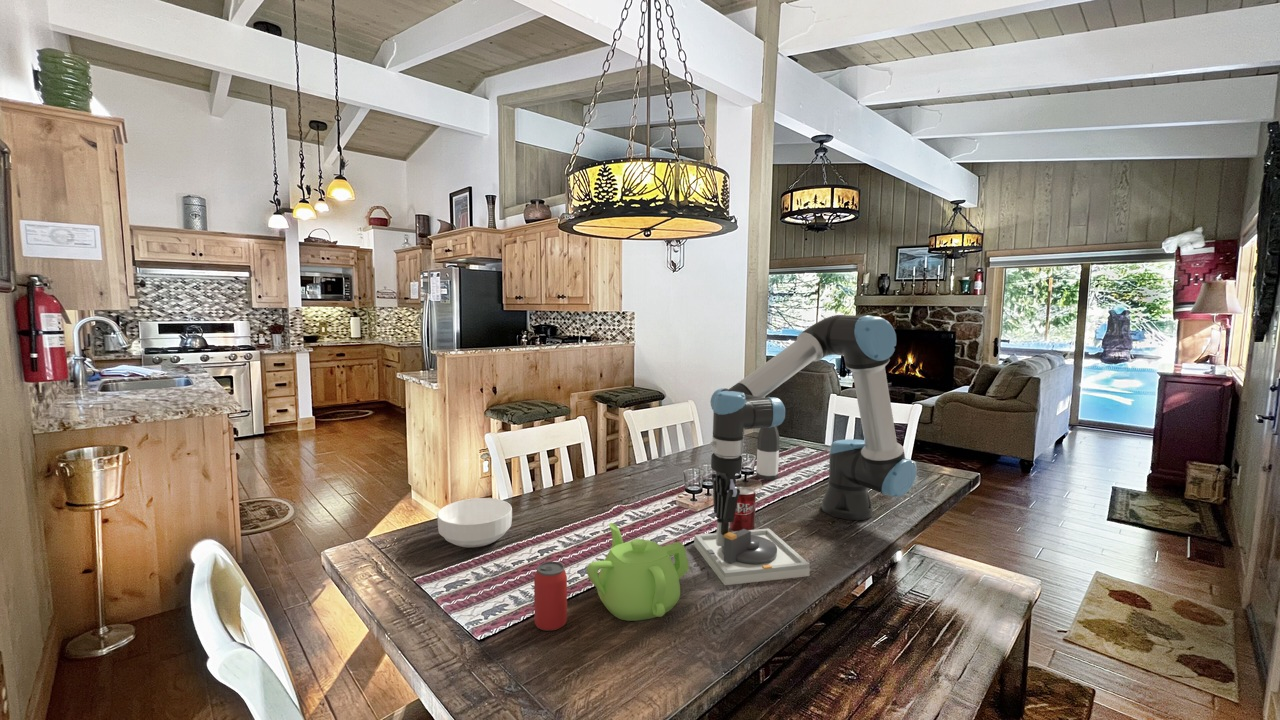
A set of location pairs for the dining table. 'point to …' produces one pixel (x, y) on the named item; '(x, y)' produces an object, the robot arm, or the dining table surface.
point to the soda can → (744, 510)
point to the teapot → (639, 577)
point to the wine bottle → (768, 453)
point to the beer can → (550, 596)
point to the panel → (738, 573)
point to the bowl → (474, 521)
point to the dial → (748, 548)
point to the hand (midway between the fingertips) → (722, 544)
